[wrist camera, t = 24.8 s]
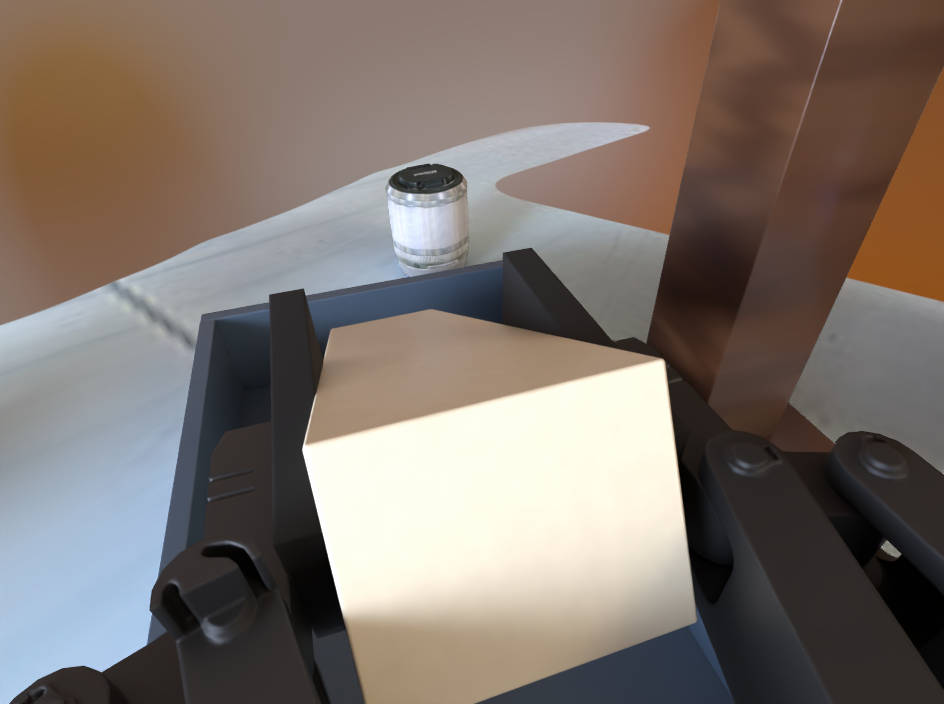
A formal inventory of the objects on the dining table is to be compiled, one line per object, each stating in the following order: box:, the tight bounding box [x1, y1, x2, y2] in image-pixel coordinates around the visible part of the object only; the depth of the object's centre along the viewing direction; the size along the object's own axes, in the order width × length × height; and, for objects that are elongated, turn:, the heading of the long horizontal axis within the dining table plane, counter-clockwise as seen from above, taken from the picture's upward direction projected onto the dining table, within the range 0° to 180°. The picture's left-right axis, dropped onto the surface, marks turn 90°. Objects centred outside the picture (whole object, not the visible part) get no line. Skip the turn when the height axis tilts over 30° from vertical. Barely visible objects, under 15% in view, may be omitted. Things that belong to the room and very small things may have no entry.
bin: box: [147, 260, 735, 704], centre depth 20 cm, size 32×18×7 cm, turn 17°
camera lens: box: [386, 164, 469, 277], centre depth 43 cm, size 6×6×8 cm
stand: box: [646, 0, 944, 452], centre depth 20 cm, size 14×10×31 cm
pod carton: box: [303, 309, 697, 704], centre depth 16 cm, size 19×5×4 cm, turn 17°
